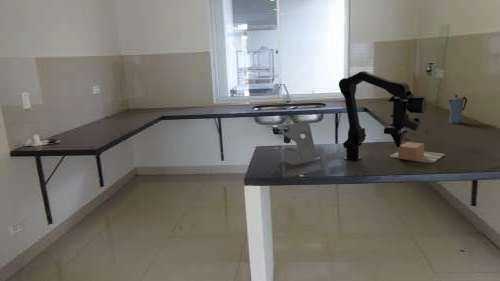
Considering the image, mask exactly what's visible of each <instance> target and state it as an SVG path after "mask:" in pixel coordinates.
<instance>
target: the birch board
mask: <svg viewBox="0 0 500 281" xmlns="http://www.w3.org/2000/svg"><path fill="white" fill-rule="evenodd" d="M445 155H446V154H445V153H440V152H429V151H424V156H423V157H421V158H419V159H418V160H416V161H414V160H411V161H413V162H420V163H425V164H426V163H427V164H434V163H436V162H437V161H439V160H440V159H441V158H443V157H444V156H445ZM388 157H389V158H391V159H399V158H398V151H397V152H395V153H393V154H390V155H389V156H388ZM399 160H400V159H399ZM403 160H406V159H403ZM406 161H407V160H406Z"/></svg>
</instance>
